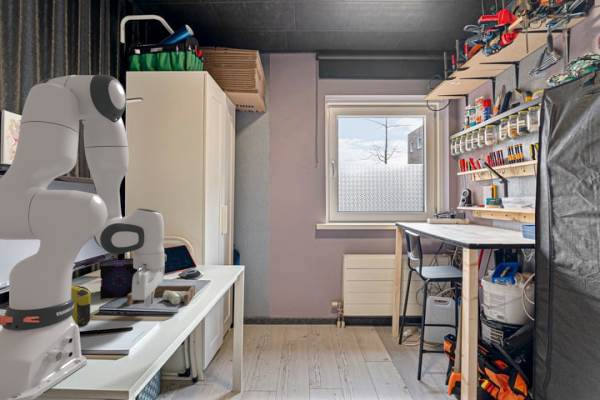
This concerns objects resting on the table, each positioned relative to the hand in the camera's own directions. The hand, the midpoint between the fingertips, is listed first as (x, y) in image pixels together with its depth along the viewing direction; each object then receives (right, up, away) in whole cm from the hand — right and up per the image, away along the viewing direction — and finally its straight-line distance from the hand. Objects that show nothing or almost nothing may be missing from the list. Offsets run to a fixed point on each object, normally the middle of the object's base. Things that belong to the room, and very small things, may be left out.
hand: (148, 304), depth 109 cm
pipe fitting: (+3, -4, +14) cm, 15 cm away
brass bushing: (-9, -1, +19) cm, 21 cm away
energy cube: (-22, -3, +24) cm, 32 cm away
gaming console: (-25, -4, -2) cm, 25 cm away
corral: (-2, -3, +16) cm, 17 cm away
